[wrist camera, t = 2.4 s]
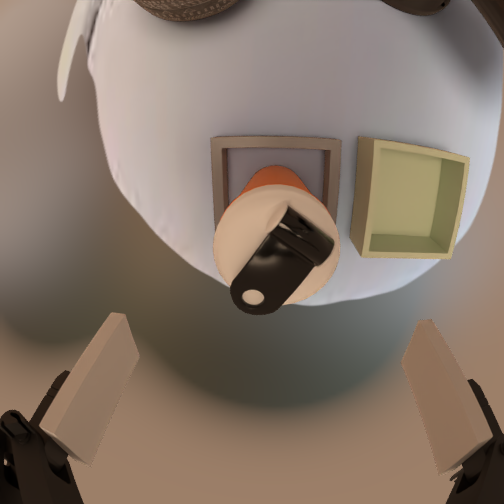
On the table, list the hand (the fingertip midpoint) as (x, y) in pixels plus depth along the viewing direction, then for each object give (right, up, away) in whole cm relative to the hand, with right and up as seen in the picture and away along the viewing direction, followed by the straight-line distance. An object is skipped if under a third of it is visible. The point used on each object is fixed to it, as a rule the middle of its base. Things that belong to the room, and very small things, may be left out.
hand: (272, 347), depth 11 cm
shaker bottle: (+2, +12, +24) cm, 26 cm away
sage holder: (+19, +12, +22) cm, 31 cm away
